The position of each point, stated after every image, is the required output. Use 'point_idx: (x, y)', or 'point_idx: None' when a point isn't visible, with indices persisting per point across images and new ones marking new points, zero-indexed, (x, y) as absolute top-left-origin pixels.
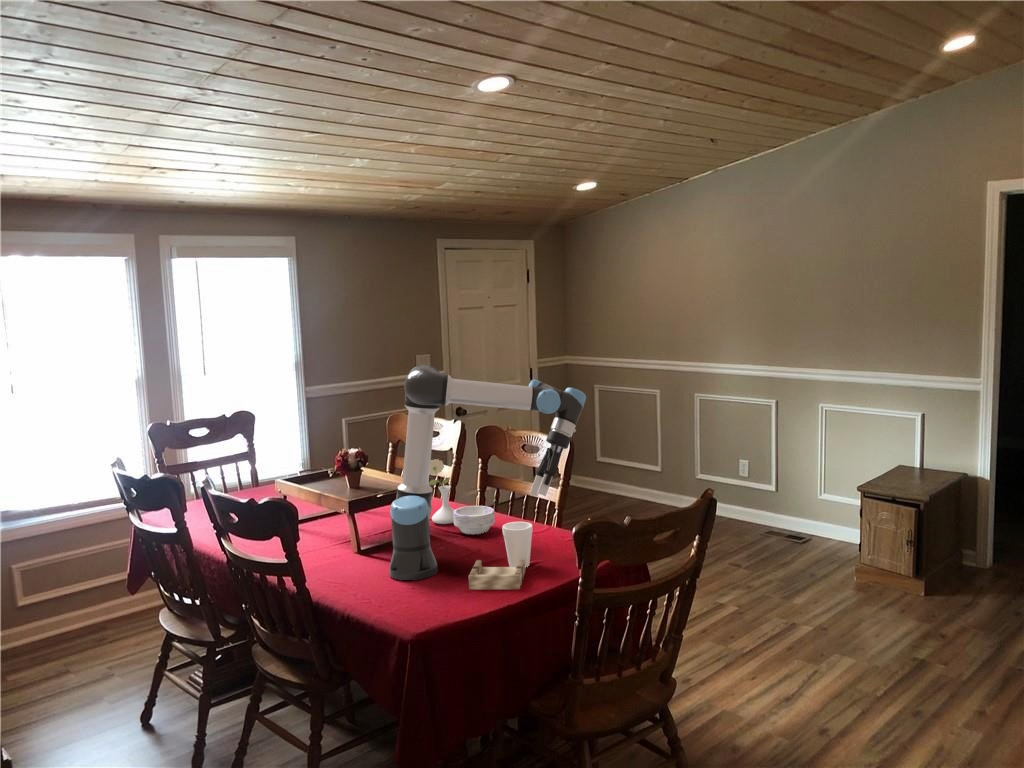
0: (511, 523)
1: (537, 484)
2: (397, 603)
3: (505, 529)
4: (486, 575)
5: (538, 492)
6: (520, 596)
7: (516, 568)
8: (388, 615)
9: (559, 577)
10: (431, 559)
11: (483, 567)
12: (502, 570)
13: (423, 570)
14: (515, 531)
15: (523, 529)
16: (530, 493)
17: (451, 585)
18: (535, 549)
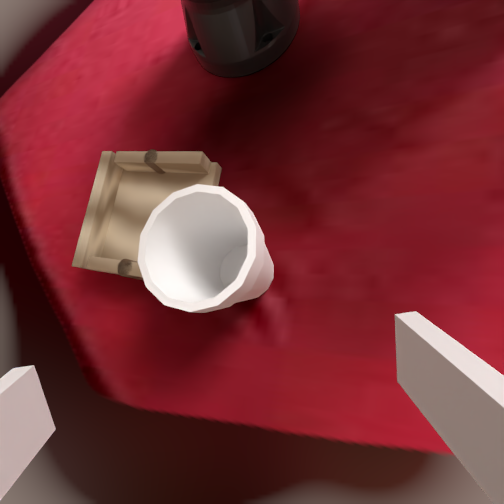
0: (243, 218)
1: (471, 429)
2: (97, 57)
3: (166, 199)
4: (95, 190)
5: (8, 376)
6: (64, 272)
7: (123, 259)
8: (58, 61)
9: (139, 374)
10: (210, 40)
11: (211, 177)
12: None
13: (192, 46)
14: (142, 240)
15: (141, 271)
16: (395, 321)
17: (153, 127)
18: None
